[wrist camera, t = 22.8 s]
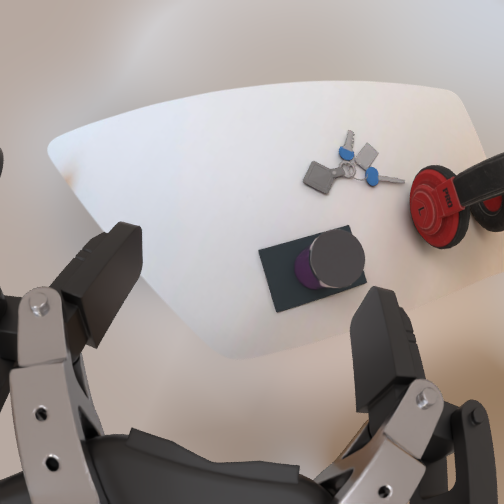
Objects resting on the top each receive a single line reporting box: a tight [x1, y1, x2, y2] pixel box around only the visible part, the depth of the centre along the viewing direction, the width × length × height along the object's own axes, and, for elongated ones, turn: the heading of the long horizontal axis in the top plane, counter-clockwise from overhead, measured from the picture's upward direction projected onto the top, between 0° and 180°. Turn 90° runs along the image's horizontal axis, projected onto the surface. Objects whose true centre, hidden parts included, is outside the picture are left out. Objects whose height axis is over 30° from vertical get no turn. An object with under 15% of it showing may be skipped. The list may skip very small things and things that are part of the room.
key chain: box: [303, 130, 405, 194], centre depth 35 cm, size 14×8×1 cm, turn 101°
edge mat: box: [259, 225, 367, 312], centre depth 33 cm, size 11×7×1 cm, turn 106°
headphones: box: [410, 153, 504, 249], centre depth 25 cm, size 18×10×20 cm, turn 102°
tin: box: [294, 229, 365, 290], centre depth 28 cm, size 5×5×8 cm
